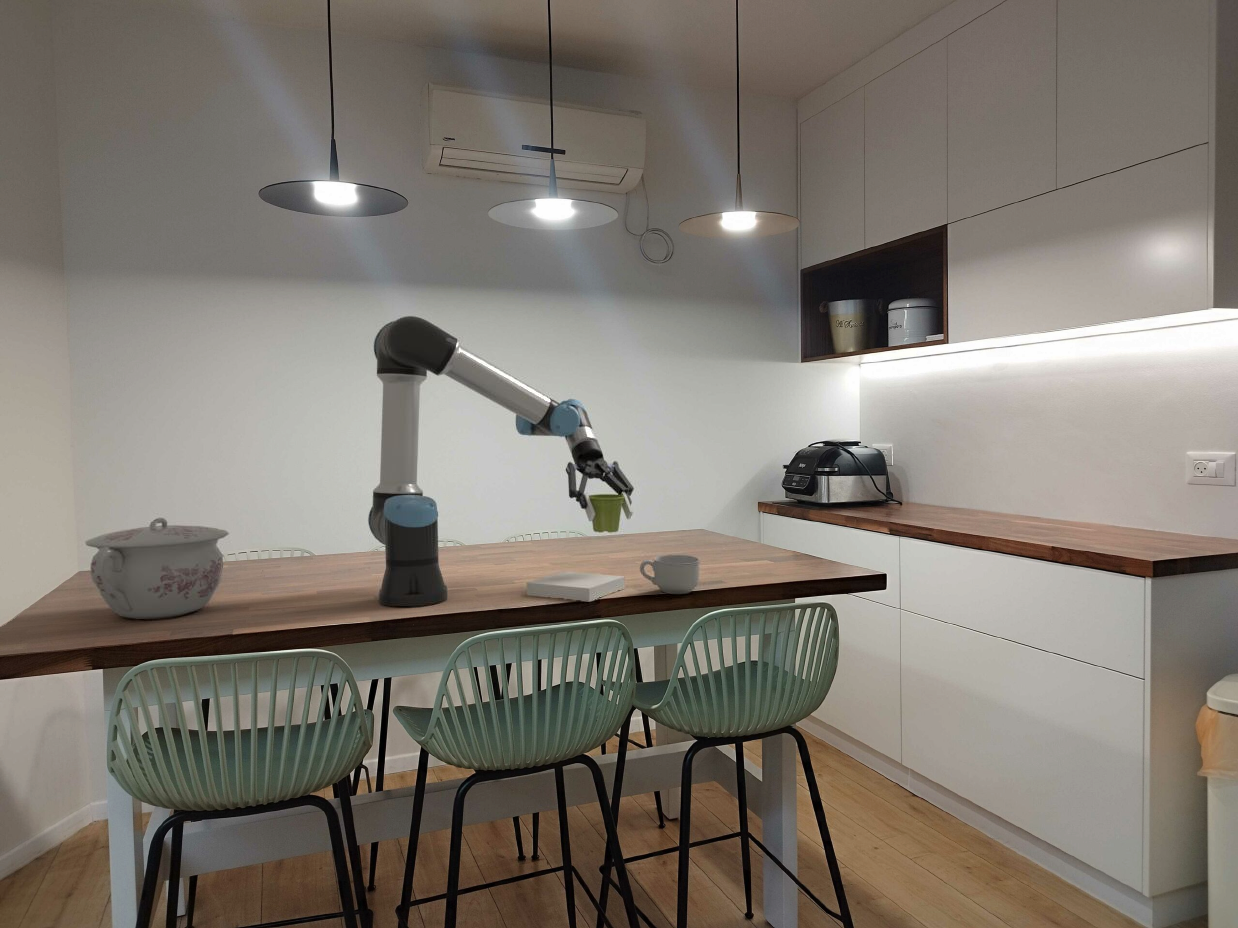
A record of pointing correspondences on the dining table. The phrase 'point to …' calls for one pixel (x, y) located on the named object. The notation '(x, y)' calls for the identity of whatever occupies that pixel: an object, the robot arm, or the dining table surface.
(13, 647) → the dining table surface
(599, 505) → the plant pot
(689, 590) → the teacup
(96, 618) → the dining table surface
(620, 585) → the plinth
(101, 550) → the chamber pot
